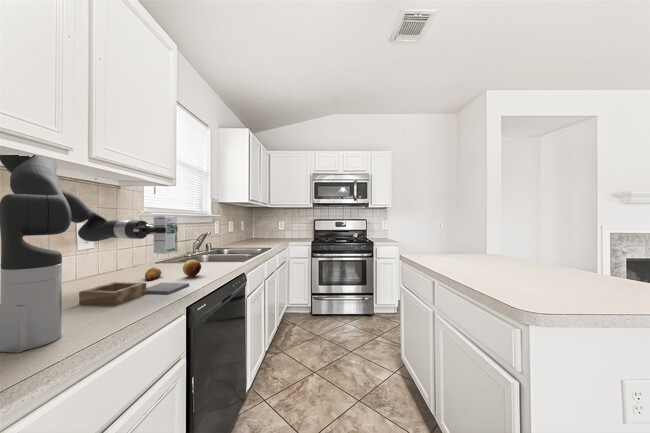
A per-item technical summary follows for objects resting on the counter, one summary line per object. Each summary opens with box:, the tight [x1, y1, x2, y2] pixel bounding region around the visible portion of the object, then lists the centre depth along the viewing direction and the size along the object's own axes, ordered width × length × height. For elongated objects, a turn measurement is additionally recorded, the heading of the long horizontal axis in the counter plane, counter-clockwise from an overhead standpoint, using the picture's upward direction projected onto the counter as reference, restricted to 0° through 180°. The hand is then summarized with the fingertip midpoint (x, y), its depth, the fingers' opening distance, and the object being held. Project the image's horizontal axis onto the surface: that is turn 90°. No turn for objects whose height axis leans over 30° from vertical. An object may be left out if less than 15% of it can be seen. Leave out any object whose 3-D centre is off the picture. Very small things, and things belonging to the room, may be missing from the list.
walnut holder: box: [78, 281, 147, 306], centre depth 91 cm, size 13×13×4 cm
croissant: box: [144, 267, 163, 281], centre depth 122 cm, size 14×7×5 cm, turn 18°
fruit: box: [182, 259, 202, 278], centre depth 125 cm, size 8×8×8 cm
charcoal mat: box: [146, 282, 190, 295], centre depth 103 cm, size 12×12×1 cm
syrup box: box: [153, 215, 178, 255], centre depth 103 cm, size 6×6×14 cm
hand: (171, 229), depth 103 cm, fingers closed on syrup box, 6 cm apart
